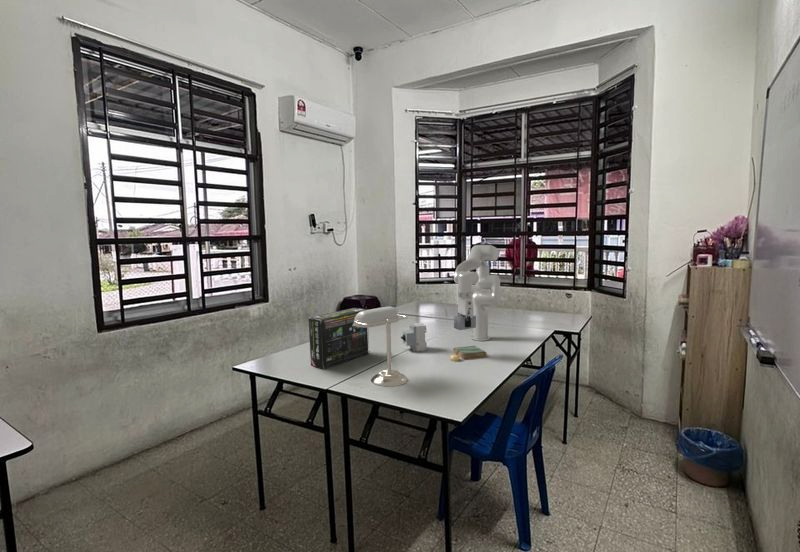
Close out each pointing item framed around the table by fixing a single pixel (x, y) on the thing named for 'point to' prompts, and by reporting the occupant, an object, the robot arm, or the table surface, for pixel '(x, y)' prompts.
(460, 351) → the green board with frame
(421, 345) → the circuit breaker
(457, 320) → the block
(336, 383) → the table surface
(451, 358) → the cream dome
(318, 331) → the router box
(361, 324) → the lamp
